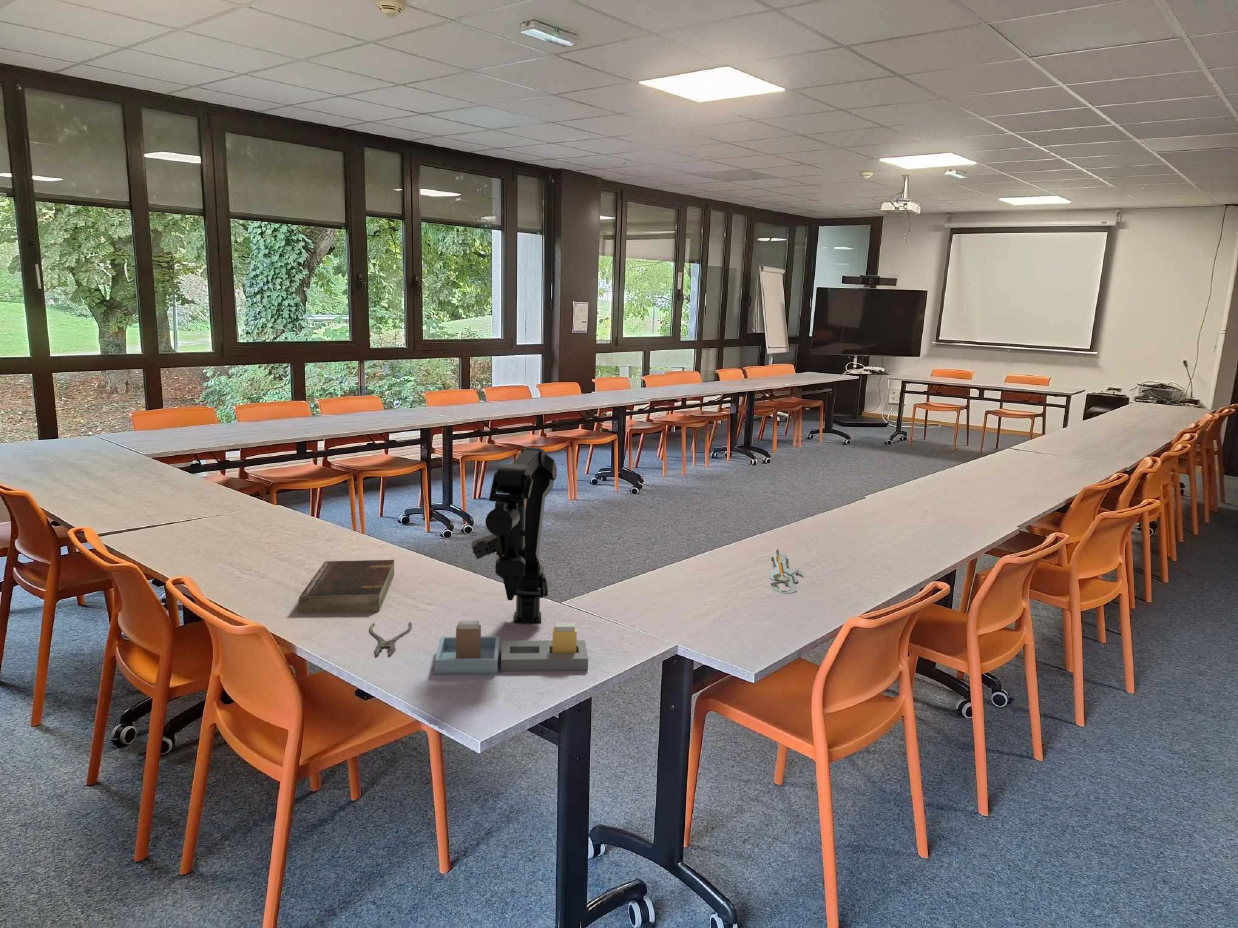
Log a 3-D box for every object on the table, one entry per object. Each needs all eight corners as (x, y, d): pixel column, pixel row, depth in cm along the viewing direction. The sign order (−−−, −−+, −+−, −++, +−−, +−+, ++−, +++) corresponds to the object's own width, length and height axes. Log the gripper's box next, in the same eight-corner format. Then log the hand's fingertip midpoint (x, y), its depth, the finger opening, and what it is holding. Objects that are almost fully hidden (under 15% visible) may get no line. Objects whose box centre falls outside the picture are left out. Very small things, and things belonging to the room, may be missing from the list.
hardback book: (324, 577, 222) (323, 559, 222) (394, 576, 225) (394, 559, 224) (298, 614, 194) (298, 594, 193) (379, 613, 197) (378, 594, 196)
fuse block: (502, 651, 176) (502, 640, 176) (584, 650, 178) (584, 640, 178) (500, 670, 166) (501, 659, 166) (587, 669, 168) (588, 658, 168)
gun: (771, 597, 224) (808, 599, 222) (771, 589, 223) (808, 591, 222) (765, 555, 262) (797, 556, 260) (766, 548, 261) (797, 550, 260)
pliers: (410, 618, 192) (422, 650, 174) (410, 621, 192) (422, 654, 174) (367, 622, 188) (375, 655, 170) (367, 626, 189) (375, 659, 170)
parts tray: (441, 649, 176) (441, 636, 175) (499, 649, 177) (499, 636, 177) (434, 674, 164) (434, 660, 163) (497, 673, 165) (497, 659, 164)
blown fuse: (456, 656, 171) (457, 620, 170) (480, 656, 172) (481, 620, 170) (455, 660, 169) (456, 624, 168) (480, 660, 169) (480, 624, 168)
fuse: (551, 658, 174) (552, 623, 172) (575, 658, 174) (576, 622, 173) (552, 662, 171) (553, 627, 170) (575, 662, 172) (576, 627, 171)
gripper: (476, 513, 184) (476, 579, 186) (471, 535, 165) (470, 607, 168) (526, 514, 185) (524, 579, 188) (525, 535, 167) (524, 607, 169)
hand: (510, 592), depth 178 cm, fingers open, 9 cm apart
